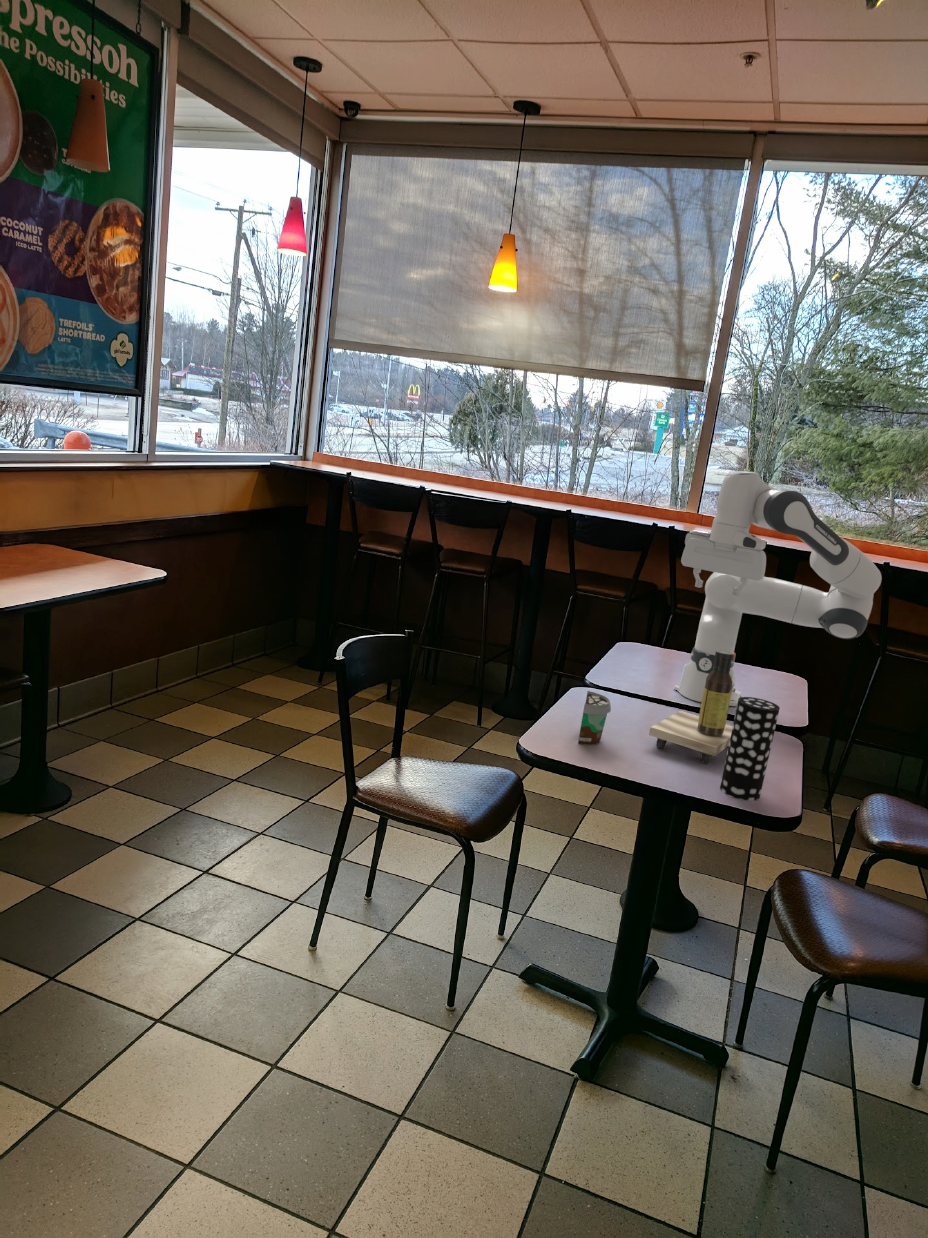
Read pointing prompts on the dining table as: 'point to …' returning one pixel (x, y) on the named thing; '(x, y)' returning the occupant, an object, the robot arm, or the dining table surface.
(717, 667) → the sauce bottle
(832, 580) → the robot arm
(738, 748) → the white-spotted black cylinder
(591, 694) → the food container
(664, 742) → the dolly
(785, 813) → the dining table surface
